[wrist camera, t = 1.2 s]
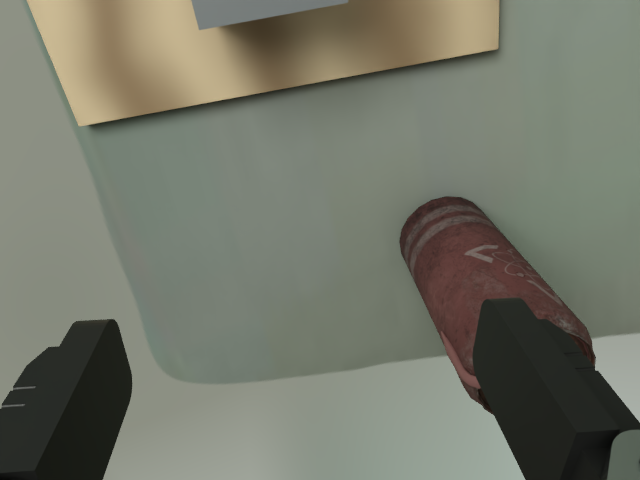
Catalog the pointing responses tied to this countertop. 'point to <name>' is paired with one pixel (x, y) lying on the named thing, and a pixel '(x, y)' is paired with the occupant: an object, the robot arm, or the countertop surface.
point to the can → (474, 279)
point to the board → (241, 48)
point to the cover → (250, 10)
